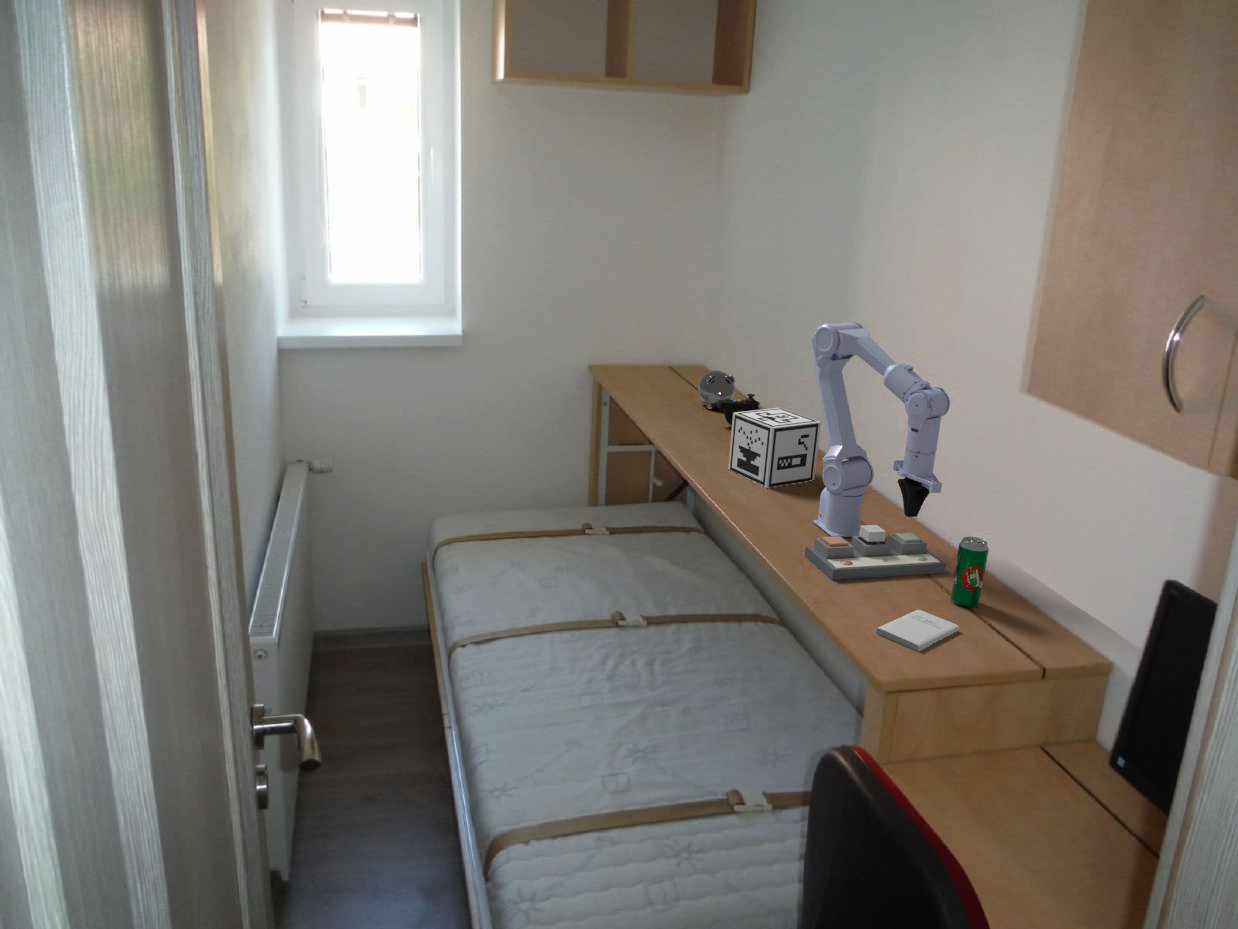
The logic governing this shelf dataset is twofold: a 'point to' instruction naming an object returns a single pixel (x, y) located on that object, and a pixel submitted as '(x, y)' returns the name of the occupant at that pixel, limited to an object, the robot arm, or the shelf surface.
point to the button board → (871, 549)
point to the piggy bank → (716, 387)
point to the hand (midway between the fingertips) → (910, 515)
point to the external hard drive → (917, 630)
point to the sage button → (907, 537)
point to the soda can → (969, 571)
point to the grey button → (872, 533)
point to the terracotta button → (834, 541)
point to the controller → (737, 406)
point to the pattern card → (883, 561)
